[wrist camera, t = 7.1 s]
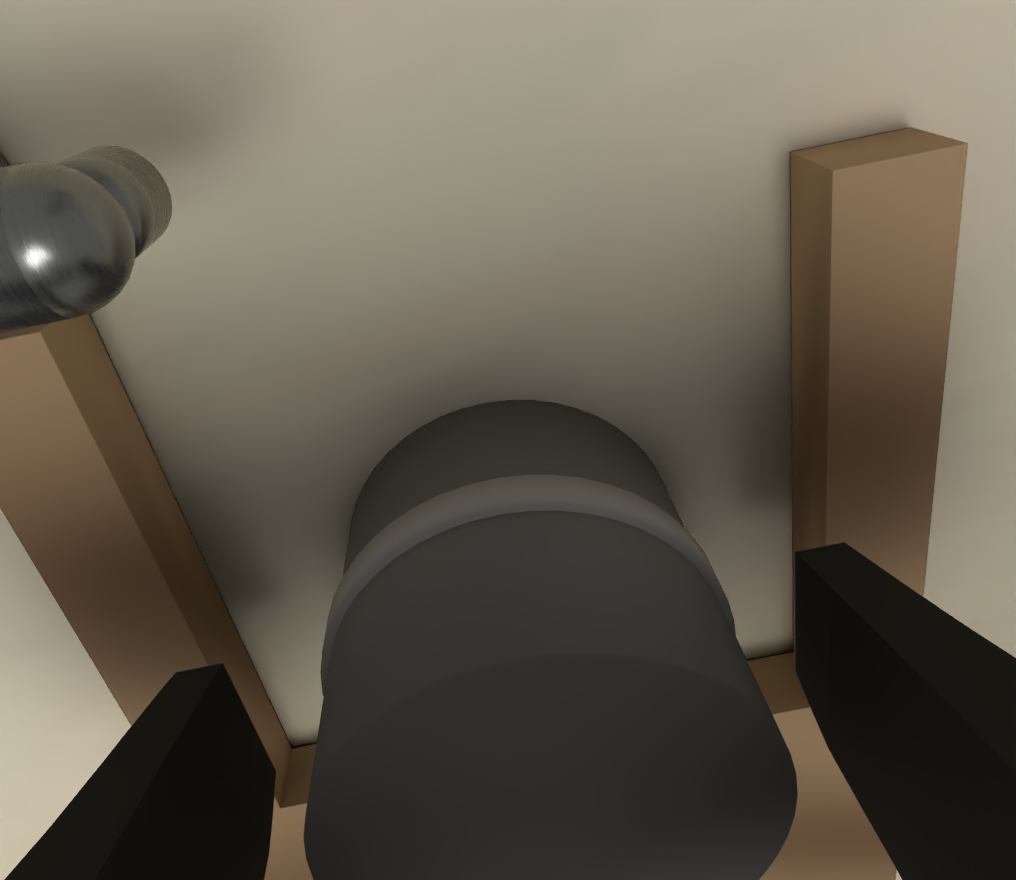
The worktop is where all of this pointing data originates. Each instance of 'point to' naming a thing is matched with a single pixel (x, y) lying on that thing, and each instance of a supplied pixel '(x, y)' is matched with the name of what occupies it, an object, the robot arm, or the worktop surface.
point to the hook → (74, 232)
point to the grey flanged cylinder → (536, 672)
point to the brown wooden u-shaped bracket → (815, 448)
